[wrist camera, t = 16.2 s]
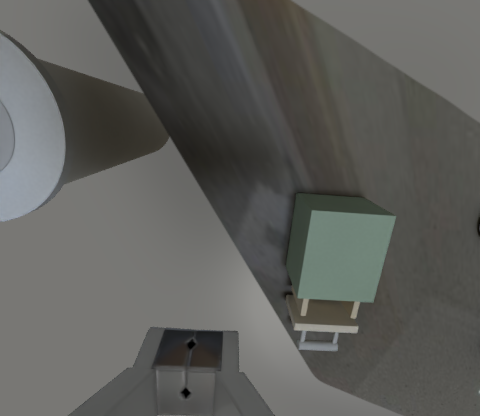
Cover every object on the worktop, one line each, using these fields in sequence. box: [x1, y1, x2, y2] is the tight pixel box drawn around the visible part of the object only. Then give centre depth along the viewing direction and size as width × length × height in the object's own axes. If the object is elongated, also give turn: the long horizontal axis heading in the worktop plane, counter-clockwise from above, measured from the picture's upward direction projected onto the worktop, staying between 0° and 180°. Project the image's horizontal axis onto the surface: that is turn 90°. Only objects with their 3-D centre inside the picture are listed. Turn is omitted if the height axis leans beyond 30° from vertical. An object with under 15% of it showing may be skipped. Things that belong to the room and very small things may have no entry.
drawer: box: [286, 285, 360, 351], centre depth 41 cm, size 16×9×7 cm, turn 176°
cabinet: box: [286, 193, 396, 302], centre depth 38 cm, size 12×10×8 cm
